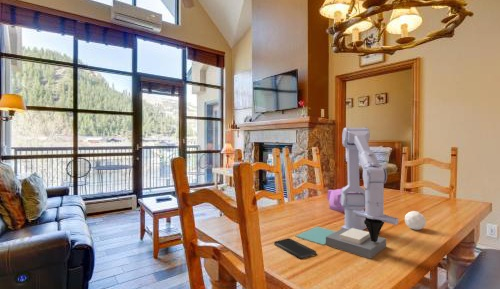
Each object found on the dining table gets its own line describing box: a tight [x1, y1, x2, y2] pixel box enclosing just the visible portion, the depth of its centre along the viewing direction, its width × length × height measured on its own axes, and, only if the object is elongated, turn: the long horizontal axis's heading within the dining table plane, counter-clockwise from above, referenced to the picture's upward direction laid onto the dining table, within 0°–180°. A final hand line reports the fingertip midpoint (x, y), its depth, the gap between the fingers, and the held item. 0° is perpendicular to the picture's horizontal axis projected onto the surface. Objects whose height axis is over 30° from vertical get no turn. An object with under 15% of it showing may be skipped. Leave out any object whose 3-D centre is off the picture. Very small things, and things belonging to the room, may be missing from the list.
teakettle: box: [326, 186, 360, 213], centre depth 145 cm, size 17×17×12 cm
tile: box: [340, 228, 370, 244], centre depth 94 cm, size 10×7×2 cm
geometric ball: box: [404, 210, 427, 231], centre depth 112 cm, size 8×8×8 cm
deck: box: [325, 228, 387, 260], centre depth 94 cm, size 14×16×3 cm
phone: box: [274, 237, 317, 260], centre depth 92 cm, size 8×1×15 cm
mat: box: [295, 226, 337, 246], centre depth 105 cm, size 16×12×1 cm
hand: (374, 240), depth 90 cm, fingers closed
